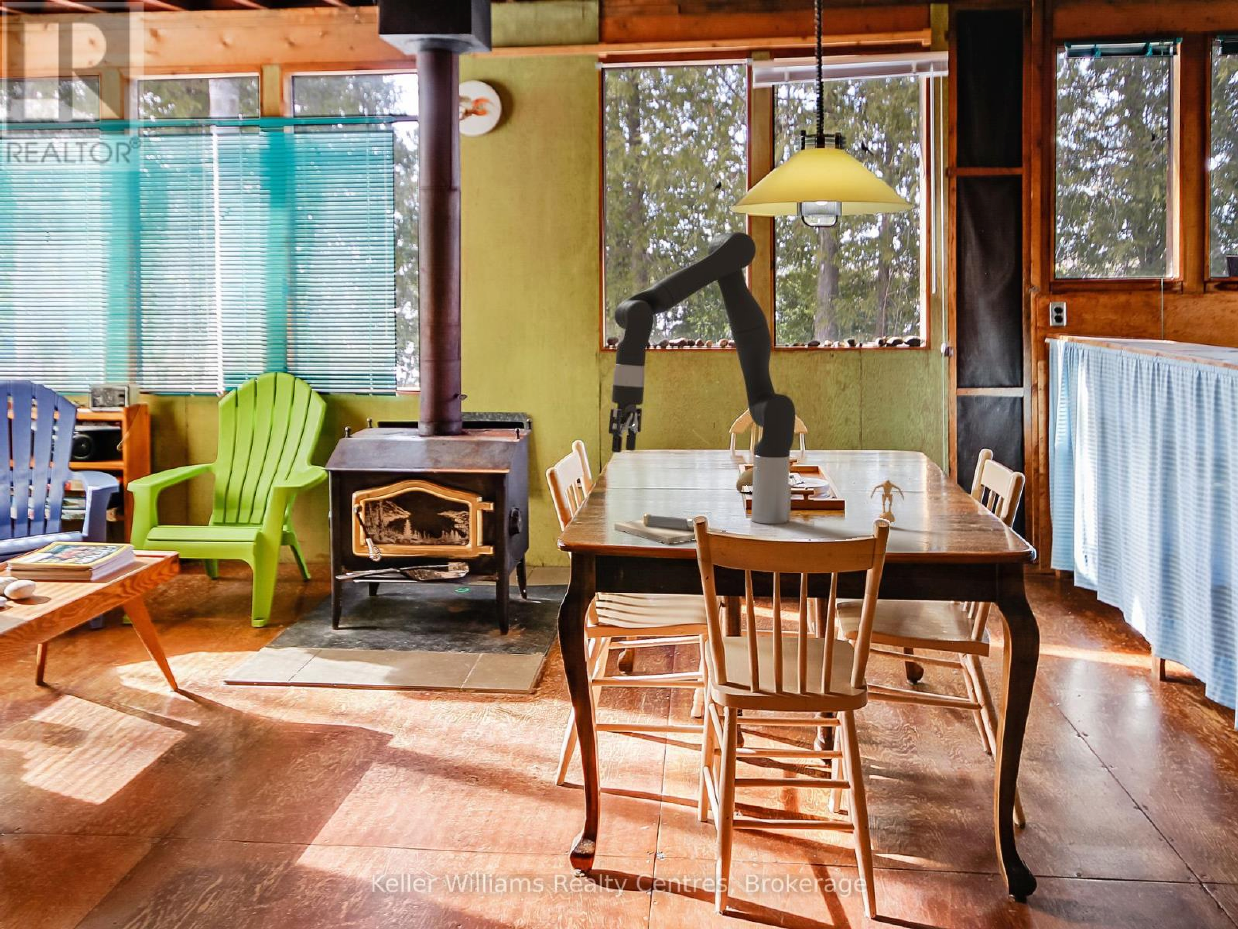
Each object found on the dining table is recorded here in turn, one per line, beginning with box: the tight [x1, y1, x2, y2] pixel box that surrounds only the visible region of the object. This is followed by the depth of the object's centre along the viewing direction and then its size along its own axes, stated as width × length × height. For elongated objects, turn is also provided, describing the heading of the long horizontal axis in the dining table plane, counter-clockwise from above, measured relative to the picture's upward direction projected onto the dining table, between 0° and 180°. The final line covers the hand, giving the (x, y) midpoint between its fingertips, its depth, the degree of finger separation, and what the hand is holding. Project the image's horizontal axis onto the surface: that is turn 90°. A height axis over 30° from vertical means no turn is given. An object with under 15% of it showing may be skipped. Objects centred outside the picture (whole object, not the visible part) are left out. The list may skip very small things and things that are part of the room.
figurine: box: [870, 479, 905, 523], centre depth 284 cm, size 8×6×12 cm
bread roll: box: [735, 467, 753, 493], centre depth 334 cm, size 10×15×8 cm, turn 93°
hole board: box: [614, 515, 727, 545], centre depth 272 cm, size 18×21×2 cm
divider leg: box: [643, 513, 695, 530], centre depth 269 cm, size 14×3×2 cm, turn 66°
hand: (623, 451), depth 268 cm, fingers open, 8 cm apart
